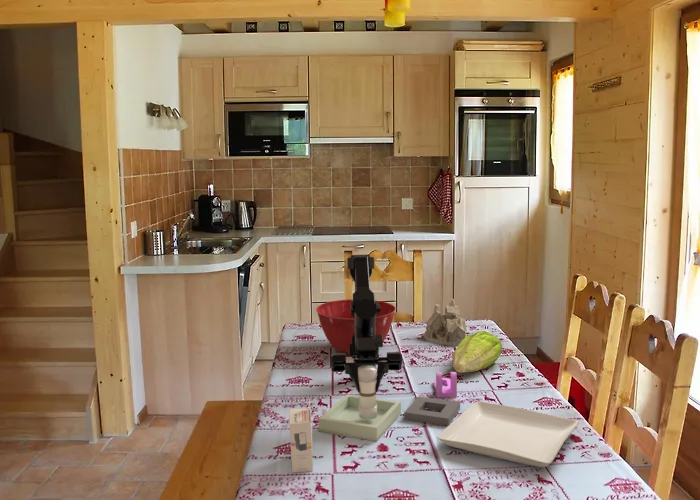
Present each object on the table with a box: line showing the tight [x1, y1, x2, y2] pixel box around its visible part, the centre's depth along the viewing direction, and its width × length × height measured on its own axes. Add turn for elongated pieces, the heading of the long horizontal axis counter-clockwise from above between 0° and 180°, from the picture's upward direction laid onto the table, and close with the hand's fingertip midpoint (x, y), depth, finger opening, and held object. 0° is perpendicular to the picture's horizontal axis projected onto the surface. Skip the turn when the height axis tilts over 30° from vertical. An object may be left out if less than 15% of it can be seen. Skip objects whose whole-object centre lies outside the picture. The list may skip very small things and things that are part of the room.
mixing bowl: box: [315, 298, 397, 356], centre depth 238 cm, size 28×28×15 cm
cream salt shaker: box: [358, 365, 377, 420], centre depth 173 cm, size 5×5×13 cm
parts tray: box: [318, 394, 402, 442], centre depth 175 cm, size 16×18×4 cm
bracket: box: [433, 371, 458, 398], centre depth 197 cm, size 13×6×7 cm, turn 178°
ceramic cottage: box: [423, 298, 468, 347], centre depth 247 cm, size 16×16×15 cm
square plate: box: [436, 401, 580, 468], centre depth 163 cm, size 27×27×4 cm
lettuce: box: [452, 330, 503, 373], centre depth 215 cm, size 12×24×13 cm
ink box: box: [289, 398, 314, 473], centre depth 152 cm, size 9×5×15 cm, turn 5°
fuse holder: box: [403, 396, 461, 427], centre depth 180 cm, size 12×12×2 cm
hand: (367, 391), depth 172 cm, fingers closed on cream salt shaker, 4 cm apart
